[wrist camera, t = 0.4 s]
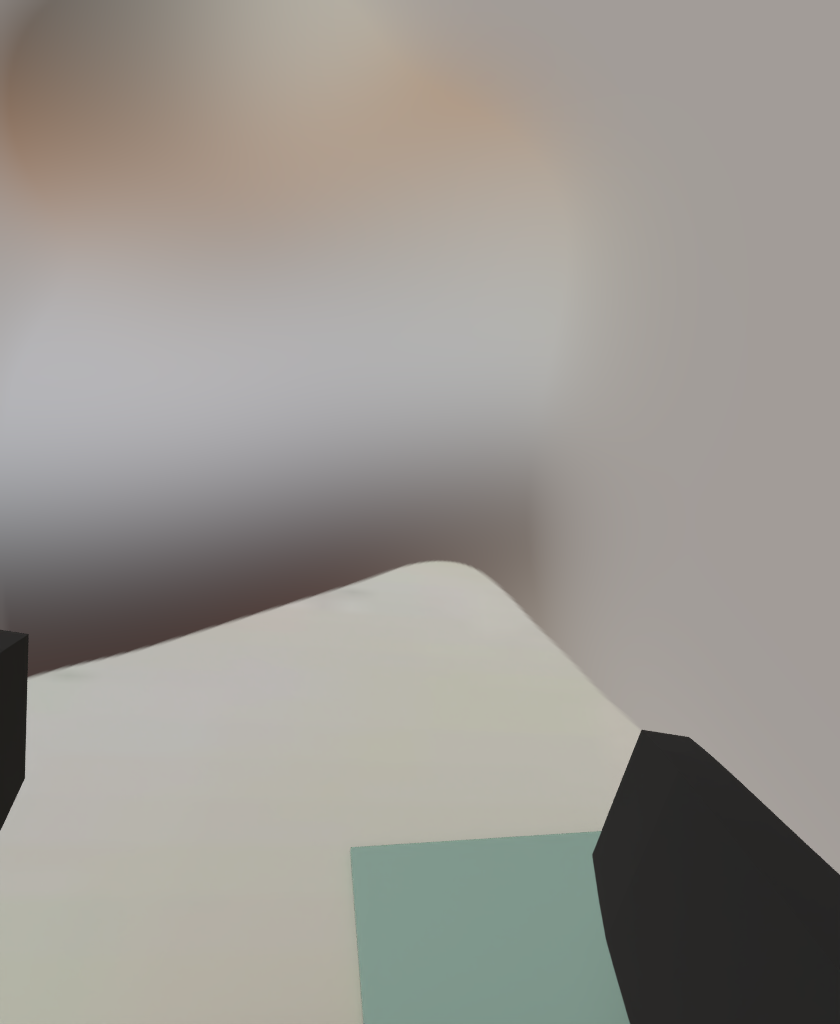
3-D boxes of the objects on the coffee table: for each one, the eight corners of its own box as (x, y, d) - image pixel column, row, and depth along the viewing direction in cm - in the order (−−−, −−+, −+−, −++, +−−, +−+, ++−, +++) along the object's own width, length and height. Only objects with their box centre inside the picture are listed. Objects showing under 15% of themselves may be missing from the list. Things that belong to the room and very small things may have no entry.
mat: (728, 1091, 24) (731, 1087, 24) (372, 1138, 22) (372, 1133, 22) (622, 834, 31) (624, 829, 31) (350, 852, 29) (351, 847, 29)
